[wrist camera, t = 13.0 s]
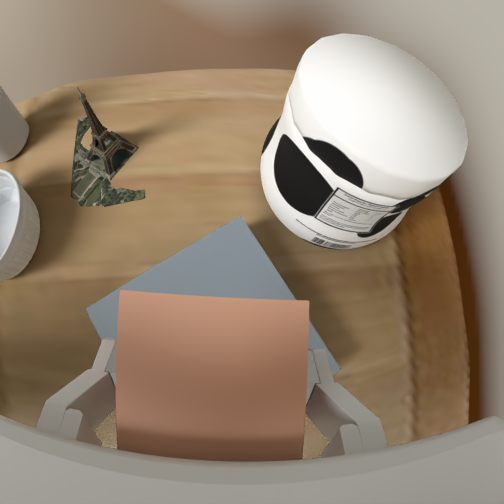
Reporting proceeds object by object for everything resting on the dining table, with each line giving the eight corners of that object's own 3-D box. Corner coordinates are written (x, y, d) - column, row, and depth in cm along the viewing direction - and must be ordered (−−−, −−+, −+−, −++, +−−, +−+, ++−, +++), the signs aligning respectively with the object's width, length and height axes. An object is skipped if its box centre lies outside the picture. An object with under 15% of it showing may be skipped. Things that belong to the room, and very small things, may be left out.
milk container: (342, 118, 41) (394, 24, 23) (409, 222, 38) (503, 159, 20) (231, 155, 37) (242, 39, 20) (300, 283, 34) (378, 233, 17)
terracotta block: (262, 410, 15) (300, 474, 7) (164, 405, 14) (118, 465, 7) (266, 315, 16) (308, 300, 8) (167, 310, 16) (119, 289, 8)
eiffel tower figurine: (78, 120, 37) (45, 57, 25) (144, 105, 39) (127, 33, 26) (71, 215, 34) (17, 163, 21) (148, 200, 35) (118, 134, 23)
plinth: (187, 452, 28) (184, 466, 25) (99, 311, 31) (85, 308, 27) (327, 365, 32) (340, 369, 28) (238, 228, 35) (240, 215, 31)
